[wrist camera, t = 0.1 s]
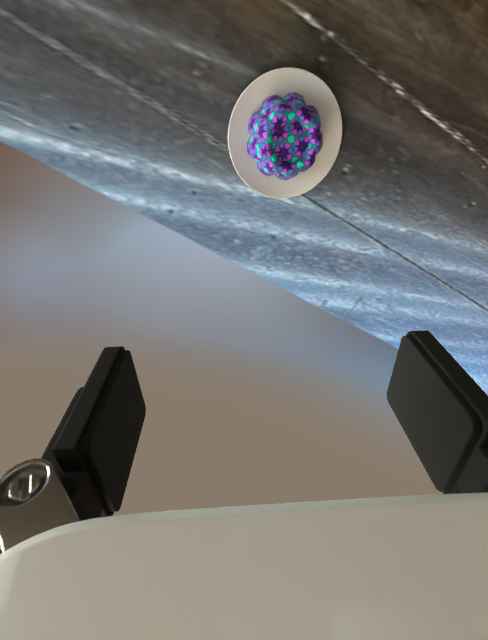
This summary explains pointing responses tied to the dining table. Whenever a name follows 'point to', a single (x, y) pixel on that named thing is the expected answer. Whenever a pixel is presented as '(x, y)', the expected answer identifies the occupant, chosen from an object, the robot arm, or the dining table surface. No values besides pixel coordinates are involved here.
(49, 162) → the dining table surface
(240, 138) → the pudding
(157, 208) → the dining table surface
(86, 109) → the dining table surface
